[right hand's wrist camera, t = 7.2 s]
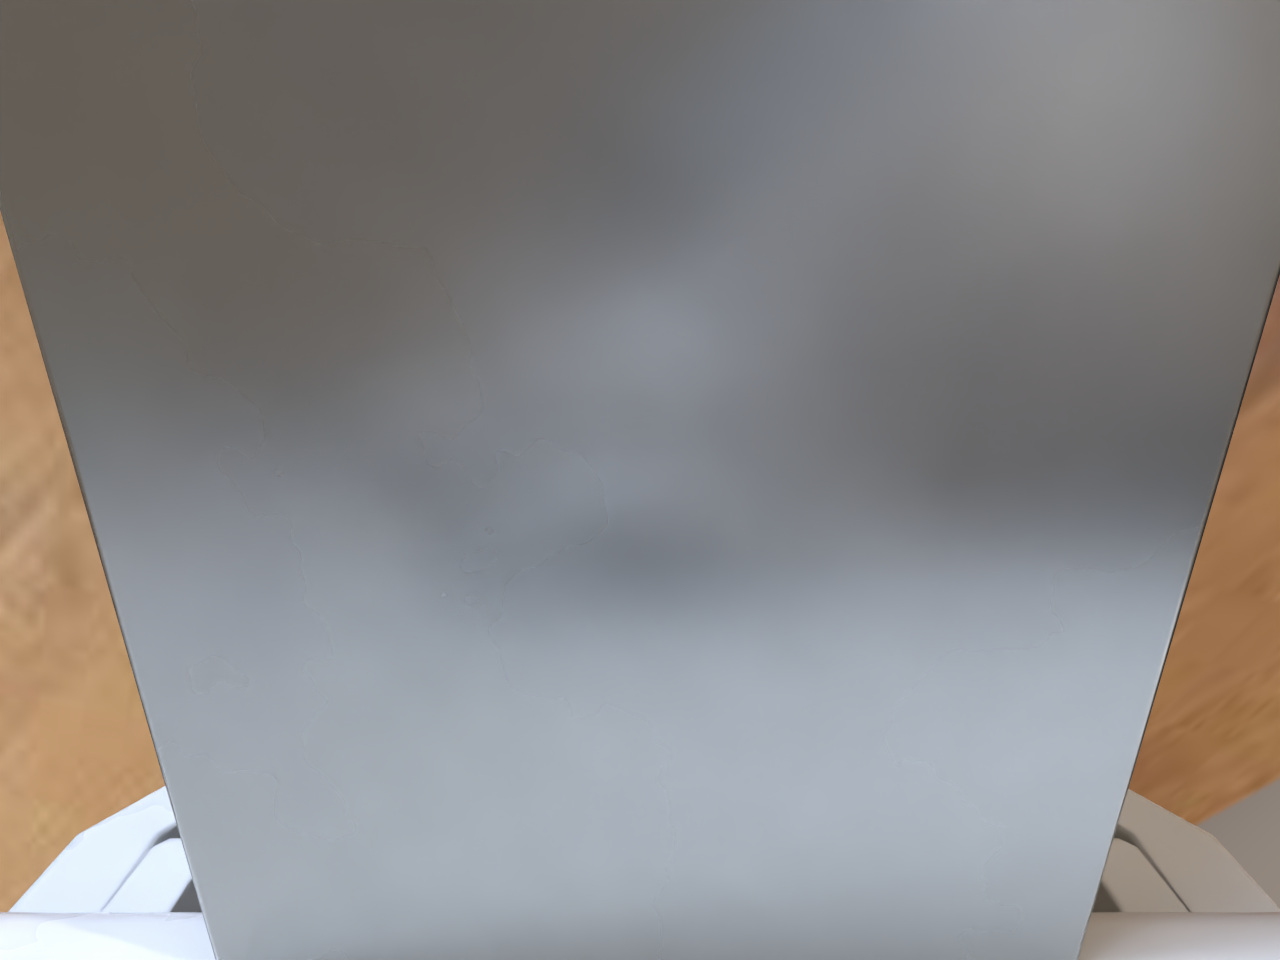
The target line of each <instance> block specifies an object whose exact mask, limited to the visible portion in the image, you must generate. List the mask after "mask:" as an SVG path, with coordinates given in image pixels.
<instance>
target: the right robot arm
mask: <svg viewBox="0 0 1280 960" xmlns="http://www.w3.org/2000/svg"><path fill="white" fill-rule="evenodd" d="M0 960H215V956H214V953H213V949H212V946H211V942H210V939H209V935H208V932H207V929H206V925H205V922H204V918H203V915H202V911H201V908H200V904H199V901H198V897H197V894H196V890H195V887H194V883H193V880H192V876H191V873H190V869H189V866H188V862H187V859H186V855H185V852H184V848H183V845H182V841H181V838H180V834H179V831H178V827H177V824H176V820H175V817H174V814H173V810H172V807H171V803H170V800H169V796H168V793H167V789H166V786H164V787H162V788H161V789H159V790H157V791H155V792H153V793H152V794H150V795H148V796H146V797H144V798H143V799H141V800H139V801H137V802H135V803H134V804H132V805H130V806H128V807H126V808H125V809H123V810H121V811H119V812H117V813H116V814H114V815H112V816H110V817H109V818H107V819H105V820H103V821H101V822H100V823H98V824H96V825H94V826H92V827H91V828H89V829H87V830H85V831H83V832H82V833H80V834H78V835H77V836H76V837H75V838H74V839H73V840H72V841H71V842H70V844H69V845H68V846H67V847H66V848H65V849H64V850H63V851H62V852H61V854H60V855H59V856H58V857H57V858H56V859H55V860H54V861H53V863H52V864H51V865H50V866H49V867H48V868H47V869H46V870H45V871H44V873H43V874H42V875H41V876H40V877H39V878H38V879H37V880H36V881H35V883H34V884H33V885H32V886H31V887H30V888H29V889H28V890H27V891H26V893H25V894H24V895H23V896H22V897H21V898H20V899H19V900H18V901H17V903H16V904H15V905H14V906H13V907H12V908H11V909H10V910H9V911H8V912H0ZM1078 960H1280V908H1279V907H1278V906H1277V905H1276V904H1275V903H1274V902H1273V901H1272V899H1271V898H1270V897H1269V896H1268V895H1267V894H1266V893H1265V892H1264V891H1263V890H1262V888H1261V887H1260V886H1259V885H1258V884H1257V883H1256V882H1255V881H1254V880H1253V879H1252V878H1251V876H1250V875H1249V874H1248V873H1247V872H1246V871H1245V870H1244V869H1243V868H1242V866H1241V865H1240V864H1239V863H1238V862H1237V861H1236V860H1235V859H1234V858H1233V857H1232V855H1231V854H1230V853H1229V852H1228V851H1227V850H1226V849H1225V848H1224V847H1223V846H1222V844H1221V843H1220V842H1219V841H1218V840H1217V839H1216V838H1215V837H1214V836H1213V835H1211V834H1209V833H1207V832H1206V831H1204V830H1202V829H1200V828H1198V827H1197V826H1195V825H1193V824H1191V823H1189V822H1188V821H1186V820H1184V819H1182V818H1180V817H1179V816H1177V815H1175V814H1173V813H1171V812H1170V811H1168V810H1166V809H1164V808H1162V807H1161V806H1159V805H1157V804H1155V803H1153V802H1152V801H1150V800H1148V799H1146V798H1144V797H1142V796H1141V795H1139V794H1137V793H1135V792H1133V791H1132V790H1130V789H1128V791H1127V794H1126V798H1125V801H1124V805H1123V808H1122V811H1121V815H1120V818H1119V822H1118V825H1117V828H1116V832H1115V835H1114V839H1113V842H1112V845H1111V849H1110V852H1109V856H1108V859H1107V862H1106V866H1105V869H1104V873H1103V876H1102V879H1101V883H1100V886H1099V890H1098V893H1097V896H1096V900H1095V903H1094V907H1093V910H1092V913H1091V917H1090V920H1089V924H1088V927H1087V930H1086V934H1085V937H1084V941H1083V944H1082V947H1081V951H1080V954H1079V958H1078Z"/></svg>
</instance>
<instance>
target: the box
mask: <svg viewBox="0 0 1280 960" xmlns="http://www.w3.org/2000/svg"><path fill="white" fill-rule="evenodd" d="M0 211H1V214H2V218H3V221H4V225H5V228H6V232H7V235H8V239H9V242H10V246H11V249H12V252H13V256H14V259H15V263H16V266H17V270H18V273H19V277H20V280H21V284H22V287H23V291H24V294H25V298H26V301H27V305H28V308H29V312H30V315H31V319H32V322H33V326H34V329H35V333H36V336H37V340H38V343H39V347H40V350H41V354H42V357H43V361H44V364H45V367H46V371H47V374H48V378H49V381H50V385H51V388H52V392H53V395H54V399H55V402H56V406H57V409H58V413H59V416H60V420H61V423H62V427H63V430H64V434H65V437H66V441H67V444H68V448H69V451H70V455H71V458H72V462H73V465H74V469H75V472H76V475H77V479H78V482H79V486H80V489H81V493H82V496H83V500H84V503H85V507H86V510H87V514H88V517H89V521H90V524H91V528H92V531H93V535H94V538H95V542H96V545H97V549H98V552H99V556H100V559H101V563H102V566H103V570H104V573H105V577H106V580H107V584H108V587H109V590H110V594H111V597H112V601H113V604H114V608H115V611H116V615H117V618H118V622H119V625H120V629H121V632H122V636H123V639H124V643H125V646H126V650H127V653H128V657H129V660H130V664H131V667H132V671H133V674H134V678H135V681H136V685H137V688H138V692H139V695H140V699H141V702H142V705H143V709H144V712H145V716H146V719H147V723H148V726H149V730H150V733H151V737H152V740H153V744H154V747H155V751H156V754H157V758H158V761H159V765H160V768H161V772H162V775H163V779H164V782H165V786H166V789H167V793H168V796H169V800H170V803H171V807H172V810H173V814H174V817H175V820H176V824H177V827H178V831H179V834H180V838H181V841H182V845H183V848H184V852H185V855H186V859H187V862H188V866H189V869H190V873H191V876H192V880H193V883H194V887H195V890H196V894H197V897H198V901H199V904H200V908H201V911H202V915H203V918H204V922H205V925H206V929H207V932H208V935H209V939H210V942H211V946H212V949H213V953H214V956H215V960H1078V958H1079V954H1080V951H1081V947H1082V944H1083V941H1084V937H1085V934H1086V930H1087V927H1088V924H1089V920H1090V917H1091V913H1092V910H1093V907H1094V903H1095V900H1096V896H1097V893H1098V890H1099V886H1100V883H1101V879H1102V876H1103V873H1104V869H1105V866H1106V862H1107V859H1108V856H1109V852H1110V849H1111V845H1112V842H1113V839H1114V835H1115V832H1116V828H1117V825H1118V822H1119V818H1120V815H1121V811H1122V808H1123V805H1124V801H1125V798H1126V794H1127V791H1128V788H1129V784H1130V781H1131V777H1132V774H1133V771H1134V767H1135V764H1136V760H1137V757H1138V754H1139V750H1140V747H1141V743H1142V740H1143V737H1144V733H1145V730H1146V726H1147V723H1148V720H1149V716H1150V713H1151V709H1152V706H1153V703H1154V699H1155V696H1156V692H1157V689H1158V686H1159V682H1160V679H1161V675H1162V672H1163V669H1164V665H1165V662H1166V658H1167V655H1168V652H1169V648H1170V645H1171V641H1172V638H1173V635H1174V631H1175V628H1176V624H1177V621H1178V618H1179V614H1180V611H1181V607H1182V604H1183V601H1184V597H1185V594H1186V590H1187V587H1188V584H1189V580H1190V577H1191V573H1192V570H1193V567H1194V563H1195V560H1196V556H1197V553H1198V550H1199V546H1200V543H1201V539H1202V536H1203V533H1204V529H1205V526H1206V522H1207V519H1208V516H1209V512H1210V509H1211V505H1212V502H1213V499H1214V495H1215V492H1216V488H1217V485H1218V482H1219V478H1220V475H1221V471H1222V468H1223V465H1224V461H1225V458H1226V454H1227V451H1228V448H1229V444H1230V441H1231V437H1232V434H1233V431H1234V427H1235V424H1236V420H1237V417H1238V414H1239V410H1240V407H1241V403H1242V400H1243V397H1244V393H1245V390H1246V386H1247V383H1248V380H1249V376H1250V373H1251V369H1252V366H1253V363H1254V359H1255V356H1256V352H1257V349H1258V346H1259V342H1260V339H1261V335H1262V332H1263V329H1264V325H1265V322H1266V318H1267V315H1268V312H1269V308H1270V305H1271V301H1272V298H1273V295H1274V291H1275V288H1276V284H1277V281H1278V278H1279V274H1280V0H0Z"/></svg>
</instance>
